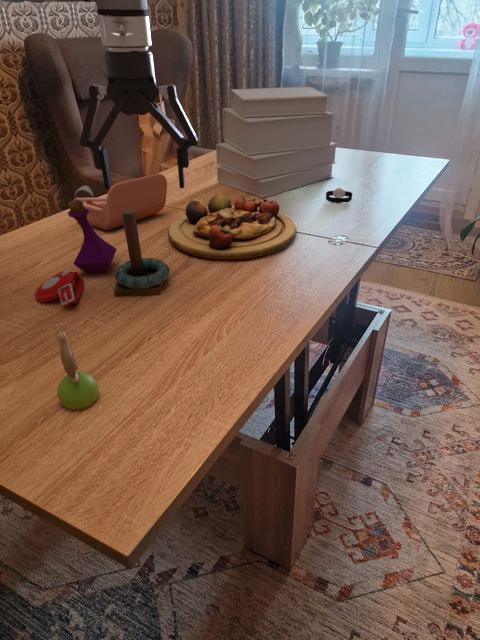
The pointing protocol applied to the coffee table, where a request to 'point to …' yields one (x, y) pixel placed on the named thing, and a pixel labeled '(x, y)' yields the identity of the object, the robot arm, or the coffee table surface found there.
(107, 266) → the perfume bottle
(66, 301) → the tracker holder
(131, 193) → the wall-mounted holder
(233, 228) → the wooden plate
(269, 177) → the book stack
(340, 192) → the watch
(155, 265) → the ring
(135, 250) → the rack
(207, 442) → the coffee table surface
